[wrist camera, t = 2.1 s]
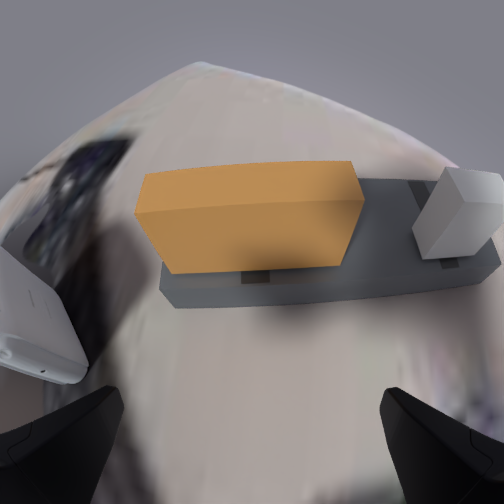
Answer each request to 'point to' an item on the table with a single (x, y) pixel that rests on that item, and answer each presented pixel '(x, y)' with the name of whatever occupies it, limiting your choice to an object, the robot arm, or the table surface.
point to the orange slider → (251, 215)
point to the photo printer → (36, 327)
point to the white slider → (460, 214)
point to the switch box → (346, 262)
